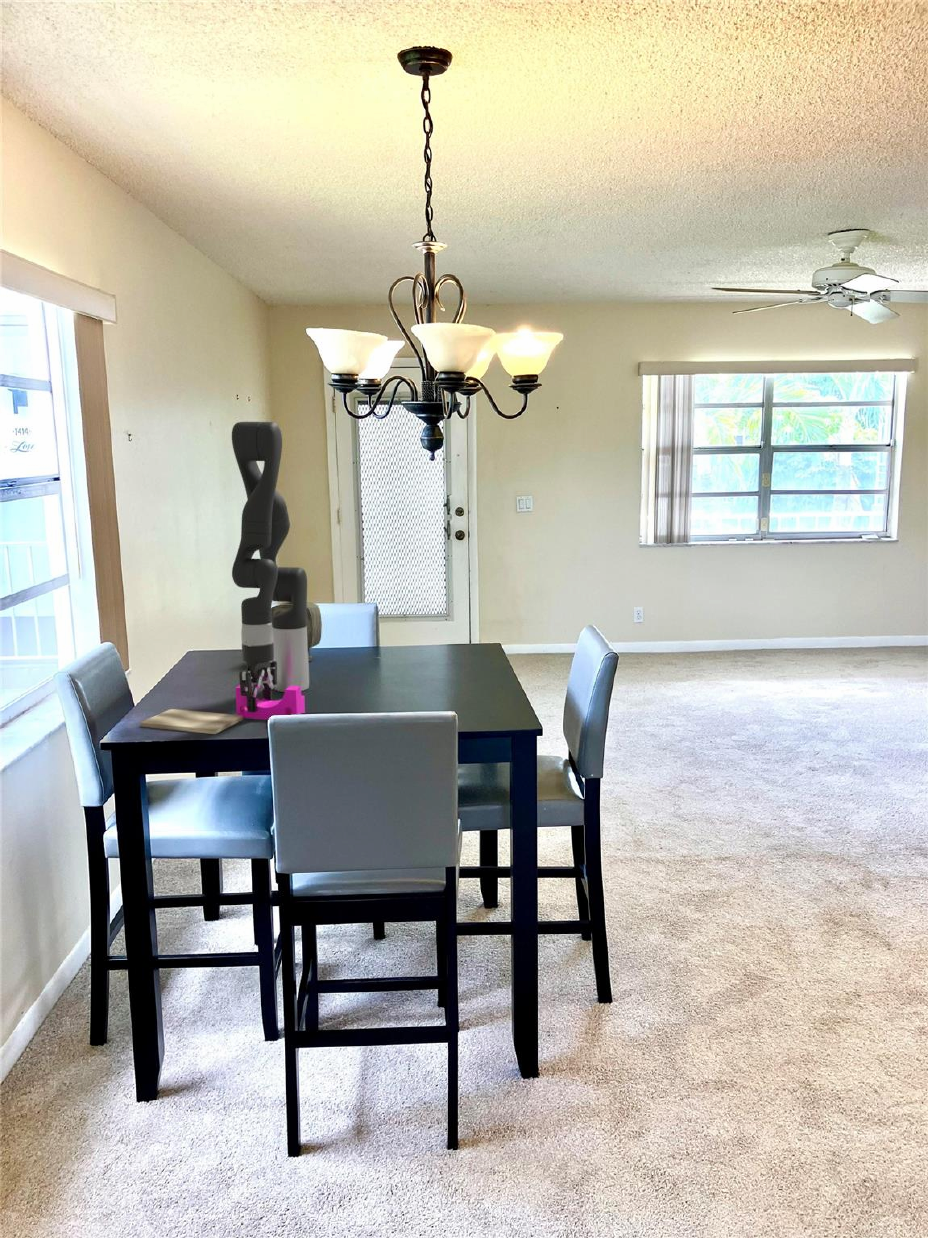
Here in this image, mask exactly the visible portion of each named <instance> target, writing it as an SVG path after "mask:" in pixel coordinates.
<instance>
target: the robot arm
mask: <svg viewBox="0 0 928 1238" xmlns="http://www.w3.org/2000/svg"><path fill="white" fill-rule="evenodd" d="M231 444H232V449H233V453H234V456H235V460H236V462H237V463H236V464H237V466H238V469H239V472H240V475H241V478H242V482H243V486H244V488H245V489H244V491H245V495H246V499H247V500H246V502H245V504H244V506H243V510H242V513H241V523H240V524H241V528H240V529H241V530H240V531H241V533H240V540H239V541H240V542H239V546H238V549H237V553H236V556H235V558H234V562H233V565H232V568H231V577H232V578H231V579H232V580H233V583H234V584H235V585H236V586H237V587H239V588H241V589H259V592H258V594H257V595H256V596H253V597H248V598H245V599H243V600H242V601H241V606H240V607H241V608H240V609H241V612H240V613H241V632H240V633H241V635H240V636H241V657H242V658H241V659H242V661H243V662H245V663H246V670H245V671H239V677H238V678H239V686H240V691H241V696H246V697H247V710H248V712H256V711H257V699H258V696H257V694H258V690H259V689H260V688H261V687H262V688H263V689H262V699H263V698H265V699H267V700H271V701H273V689H274V690H275V691H276V690H277V692H281V693H285V690H286V689H287V688H288V687H290V686H301V692H302V691H306V690H308V689H309V687H310V668H309V667H310V665H309V664H310V663H309V662H310V661H309V659H308V657H309V656H308V646H307V602H308V576H307V573H306V570H305V569H304V568H302V567H299V566H298V567H295V566H294V567H293V566H291V567H290V566H289V567H288V566H283V567H282V566H278V564H277V556H278V553H279V552H280V549H281V547H282V545H283V543H284V542H285V540H286V539H287V536H288V534H289V532H290V529H291V524H290V523H291V522H290V516H289V512H288V507H287V504H286V503H287V502H286V500H285V499H284V497H283V496H282V495H281V493H280V492H279V491H278V489H276V488H277V483H278V477H279V471H280V465H281V460H282V459H281V458H282V452H283V435H282V430H281V428H280V426H279V425H278V424H277V423H276V422H273V421H238V422H236V423H235V424H234V425H233V427H232V430H231ZM258 462H264V463H263V469H262V471H261V469H260V468H259V465H258ZM257 551H258V552H259V558H253V556H254V554H255V553H256V552H257ZM273 602H282V603H285V602H293V603H292V608H291V609H289V610H288V611H286V612H283V613H280V614H277V615H275V616H274V617H273V618H272V613H271V608H272V603H273ZM245 687H246V691H245Z"/></svg>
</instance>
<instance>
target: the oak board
mask: <svg viewBox="0 0 928 1238" xmlns="http://www.w3.org/2000/svg"><path fill="white" fill-rule="evenodd" d="M239 721H240V722H241V721H244V718H243V716H241V715H237V714H229V713H219V712H218V713H217V712H207V711H197V710H188V709H179V708H178V709H176V708H170V709H167V710H166V711H162V712H161V713H158V714H157V715H153V716H152V717H149V718H147V719H145V720H143V721H140V722H139V725H140V727H143V728H153V729H160V730H161V729H162V730H170V731H171V730H172V731H179V732H181V731H182V732H189V733H190V732H191V733H200V734H208V735H210V734H211V735H216V734H219V733H220V732H221V731H224V730H226V729H228V728H229V727H232V726H233V725H236V724H237V723H239Z"/></svg>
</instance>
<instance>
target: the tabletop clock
mask: <svg viewBox="0 0 928 1238" xmlns="http://www.w3.org/2000/svg"><path fill="white" fill-rule="evenodd" d="M292 603H293V602H282V603H279V604H277V605H274V606H271V613H272V618H273V617H274V616H275V615H277V614H280V613H283V612H286V611H288V610H289V609H291V608H292ZM322 623H323V621H322V614H321V609H320V608H319V605H318V604H316V603H314V602H309V601H307V646H308V659H309V662H311V661H313V660H314V658H313V656H312V655H311V653H310V652H311V651H310V649H311V648H313V647H315V646H318V645H319V644H320V642H321V640H322V631H323V629H322V628H323V626H322V625H323V624H322Z"/></svg>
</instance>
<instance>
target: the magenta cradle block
mask: <svg viewBox="0 0 928 1238" xmlns="http://www.w3.org/2000/svg"><path fill="white" fill-rule="evenodd" d="M245 691H246V687H245ZM305 699H306V698H305V695H302V691H301V686H290V687H288V688H287V689H286V690H285V692H284V694H283V696H282V699H280V700H272V701H271V700H267V699H265V698H263V697H262V699H261V700H260V699H259V698H257V711H256V712H248V710H247V697H246V696H241V691H240V685H238V686H236V687H235V702H236V704H235V705H236V715H241V716H243V719H244V718H253V719H252V720H269V719H268V718H269V717H271V716H272V715H291V714H301V713H305V714H306V708H305V707H306V706H305V705H306V704H305V703H306V702H305Z"/></svg>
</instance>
